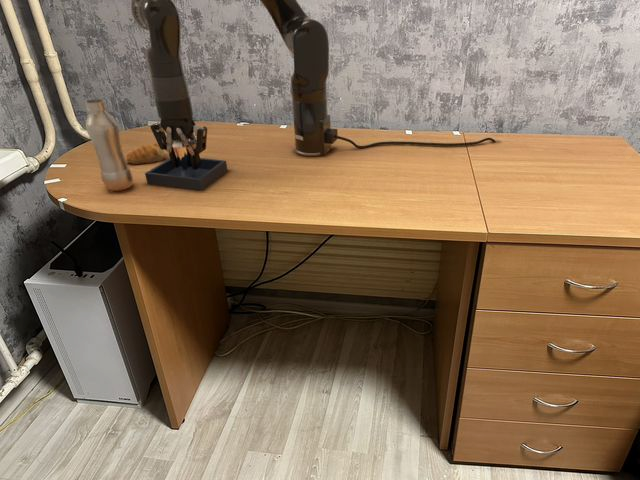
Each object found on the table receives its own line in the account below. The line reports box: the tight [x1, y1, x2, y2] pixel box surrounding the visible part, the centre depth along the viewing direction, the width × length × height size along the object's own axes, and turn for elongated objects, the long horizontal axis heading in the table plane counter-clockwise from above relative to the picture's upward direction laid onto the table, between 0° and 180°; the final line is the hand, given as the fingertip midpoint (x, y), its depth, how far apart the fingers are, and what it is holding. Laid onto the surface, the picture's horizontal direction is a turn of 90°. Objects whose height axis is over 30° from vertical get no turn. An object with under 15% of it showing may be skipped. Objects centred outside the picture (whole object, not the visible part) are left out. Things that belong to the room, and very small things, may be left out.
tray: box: [144, 157, 229, 192], centre depth 118 cm, size 15×13×3 cm
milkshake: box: [172, 139, 195, 177], centre depth 116 cm, size 4×5×10 cm
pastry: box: [125, 142, 166, 165], centre depth 128 cm, size 9×7×4 cm
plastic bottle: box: [85, 98, 134, 191], centre depth 108 cm, size 6×7×20 cm
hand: (186, 167), depth 118 cm, fingers open, 4 cm apart
